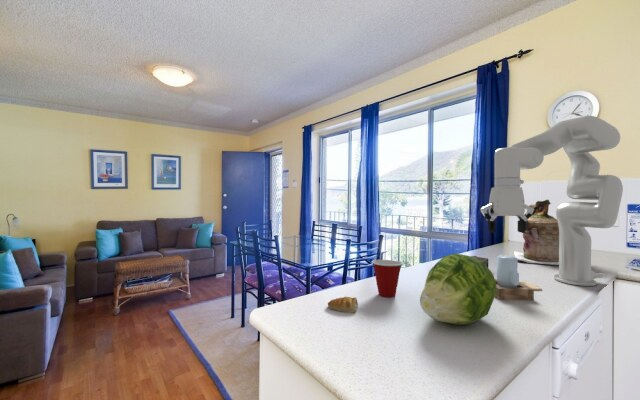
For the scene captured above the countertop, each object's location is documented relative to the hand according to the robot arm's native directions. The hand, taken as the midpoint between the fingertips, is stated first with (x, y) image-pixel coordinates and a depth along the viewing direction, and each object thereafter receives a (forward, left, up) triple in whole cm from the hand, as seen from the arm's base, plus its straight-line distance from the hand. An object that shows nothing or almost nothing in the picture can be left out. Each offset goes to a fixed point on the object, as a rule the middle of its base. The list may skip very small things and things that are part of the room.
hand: (506, 232), depth 100 cm
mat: (-11, -9, -22) cm, 26 cm away
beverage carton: (0, -26, -22) cm, 34 cm away
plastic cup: (+42, +3, -22) cm, 47 cm away
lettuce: (+26, +22, -22) cm, 41 cm away
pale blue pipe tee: (0, 0, -22) cm, 22 cm away
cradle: (0, 0, -22) cm, 22 cm away
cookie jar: (-46, -53, -22) cm, 74 cm away
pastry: (+57, +16, -22) cm, 63 cm away
